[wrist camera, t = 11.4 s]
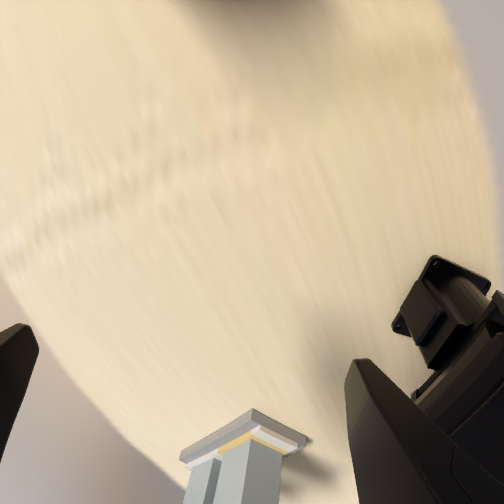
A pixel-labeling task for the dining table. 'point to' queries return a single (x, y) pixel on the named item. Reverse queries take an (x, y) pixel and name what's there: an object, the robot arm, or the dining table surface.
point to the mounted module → (203, 482)
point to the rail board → (244, 438)
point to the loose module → (249, 475)
